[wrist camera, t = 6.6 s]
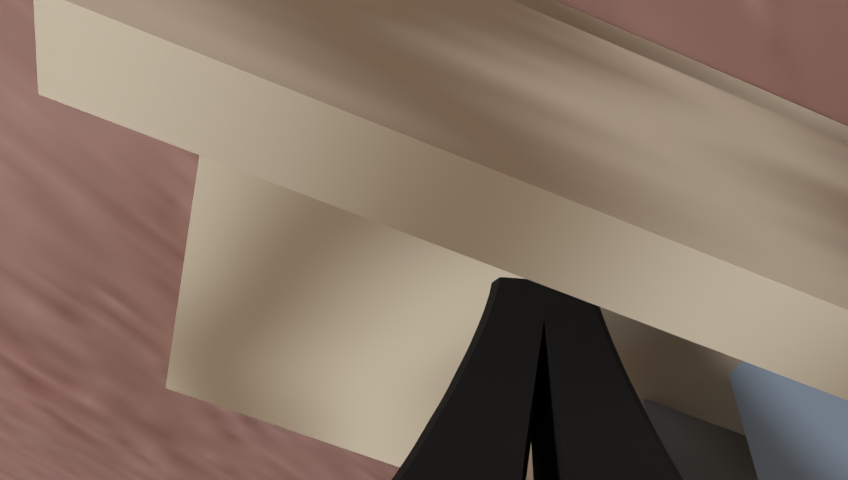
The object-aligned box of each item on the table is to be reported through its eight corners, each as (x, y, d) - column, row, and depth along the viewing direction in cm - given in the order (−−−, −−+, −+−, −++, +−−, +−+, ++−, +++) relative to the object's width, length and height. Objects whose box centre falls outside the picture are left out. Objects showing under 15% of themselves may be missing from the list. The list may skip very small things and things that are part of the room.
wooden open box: (1355, 344, 11) (1869, 735, 7) (842, 590, 19) (931, 850, 14) (259, -127, 9) (0, 4, 5) (179, 363, 17) (50, 586, 12)
